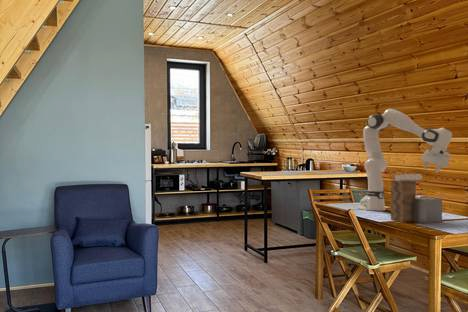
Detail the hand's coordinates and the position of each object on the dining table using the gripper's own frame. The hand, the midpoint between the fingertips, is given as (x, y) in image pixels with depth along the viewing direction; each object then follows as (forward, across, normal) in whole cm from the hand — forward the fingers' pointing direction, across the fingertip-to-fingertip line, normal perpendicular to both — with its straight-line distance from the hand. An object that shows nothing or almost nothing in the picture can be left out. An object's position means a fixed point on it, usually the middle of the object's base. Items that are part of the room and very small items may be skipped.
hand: (430, 170), depth 298 cm
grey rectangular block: (+11, +4, -19) cm, 23 cm away
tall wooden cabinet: (+37, +9, -16) cm, 41 cm away
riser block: (+32, +20, -7) cm, 38 cm away
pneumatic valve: (+29, -18, +26) cm, 43 cm away
